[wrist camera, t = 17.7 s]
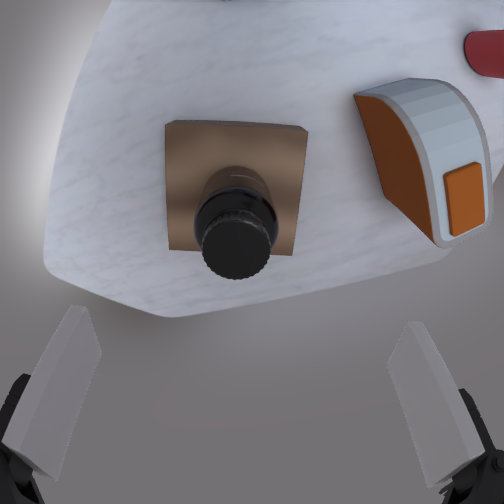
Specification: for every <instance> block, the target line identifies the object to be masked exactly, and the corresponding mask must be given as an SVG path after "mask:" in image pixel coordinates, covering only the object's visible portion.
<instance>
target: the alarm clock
mask: <svg viewBox="0 0 504 504" xmlns="http://www.w3.org/2000/svg"><path fill="white" fill-rule="evenodd" d="M354 97H355V100H356V103H357V106H358V109H359V112H360V114H361V117H362V120H363V123H364V126H365V129H366V133H367V136H368V139H369V142H370V145H371V149H372V152H373V155H374V159H375V162H376V166H377V170H378V173H379V177H380V181H381V185H382V188H383V192H384V195H385V196H386V198H387V199H388V200H389V201H391V202H392V203H393V204H394V205H395V206H396V207H397V208H398V209H399V210H400V211H401V212H402V213H403V214H405V215H406V216H407V217H408V218H409V219H410V220H411V221H412V222H413V223H414V224H415V225H416V226H417V227H418V228H419V229H420V230H421V231H422V232H423V233H424V234H425V235H426V236H427V237H428V238H429V239H430V240H431V241H432V242H433V243H434V244H435V245H436V246H438V247H440V248H449V247H452V246H454V245H456V244H458V243H460V242H463V241H465V240H467V239H469V238H471V237H473V236H475V235H477V234H479V233H481V232H482V231H484V230H485V229H486V228H487V227H488V225H489V224H490V222H491V220H492V216H493V187H492V174H491V163H490V154H489V148H488V143H487V139H486V134H485V131H484V129H483V126H482V124H481V121H480V119H479V116H478V115H477V113H476V111H475V110H474V108H473V107H472V105H471V103H470V102H469V101H468V99H467V98H466V97H465V96H464V95H463V94H462V93H461V92H460V91H459V90H458V89H457V88H455V87H454V86H452V85H451V84H450V83H448V82H444V81H441V80H435V79H417V78H408V79H404V80H401V81H397V82H393V83H389V84H386V85H382V86H379V87H375V88H372V89H368V90H365V91H362V92H358V93H355V94H354Z"/></svg>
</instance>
